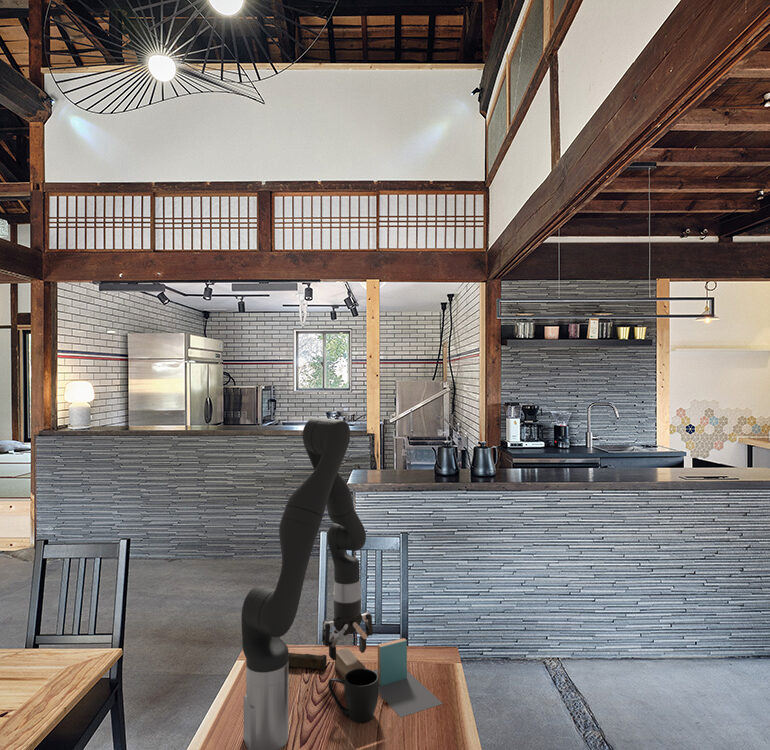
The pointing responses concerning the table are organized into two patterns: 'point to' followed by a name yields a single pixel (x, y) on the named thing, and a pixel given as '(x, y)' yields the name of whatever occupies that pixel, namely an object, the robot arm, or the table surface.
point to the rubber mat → (407, 696)
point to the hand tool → (308, 661)
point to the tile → (392, 661)
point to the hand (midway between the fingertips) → (347, 655)
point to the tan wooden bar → (346, 661)
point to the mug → (358, 694)
